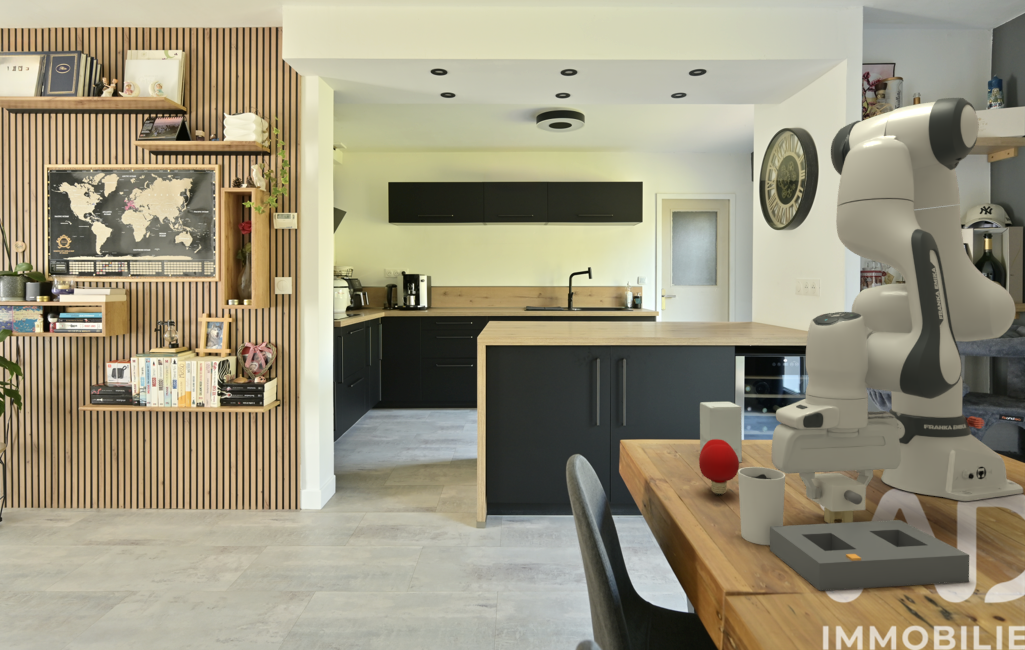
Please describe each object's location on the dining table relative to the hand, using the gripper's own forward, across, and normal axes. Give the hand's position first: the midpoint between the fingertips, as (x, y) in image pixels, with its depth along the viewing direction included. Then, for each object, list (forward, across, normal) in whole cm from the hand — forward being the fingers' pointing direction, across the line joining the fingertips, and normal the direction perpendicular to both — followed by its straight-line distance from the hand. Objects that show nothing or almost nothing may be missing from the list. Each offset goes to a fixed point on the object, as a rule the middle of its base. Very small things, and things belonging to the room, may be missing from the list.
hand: (835, 496), depth 95 cm
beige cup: (+4, +15, +4) cm, 16 cm away
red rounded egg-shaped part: (+4, +13, -15) cm, 20 cm away
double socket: (+4, +6, +15) cm, 17 cm away
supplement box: (+4, +2, -39) cm, 39 cm away
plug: (+4, 0, +1) cm, 4 cm away
